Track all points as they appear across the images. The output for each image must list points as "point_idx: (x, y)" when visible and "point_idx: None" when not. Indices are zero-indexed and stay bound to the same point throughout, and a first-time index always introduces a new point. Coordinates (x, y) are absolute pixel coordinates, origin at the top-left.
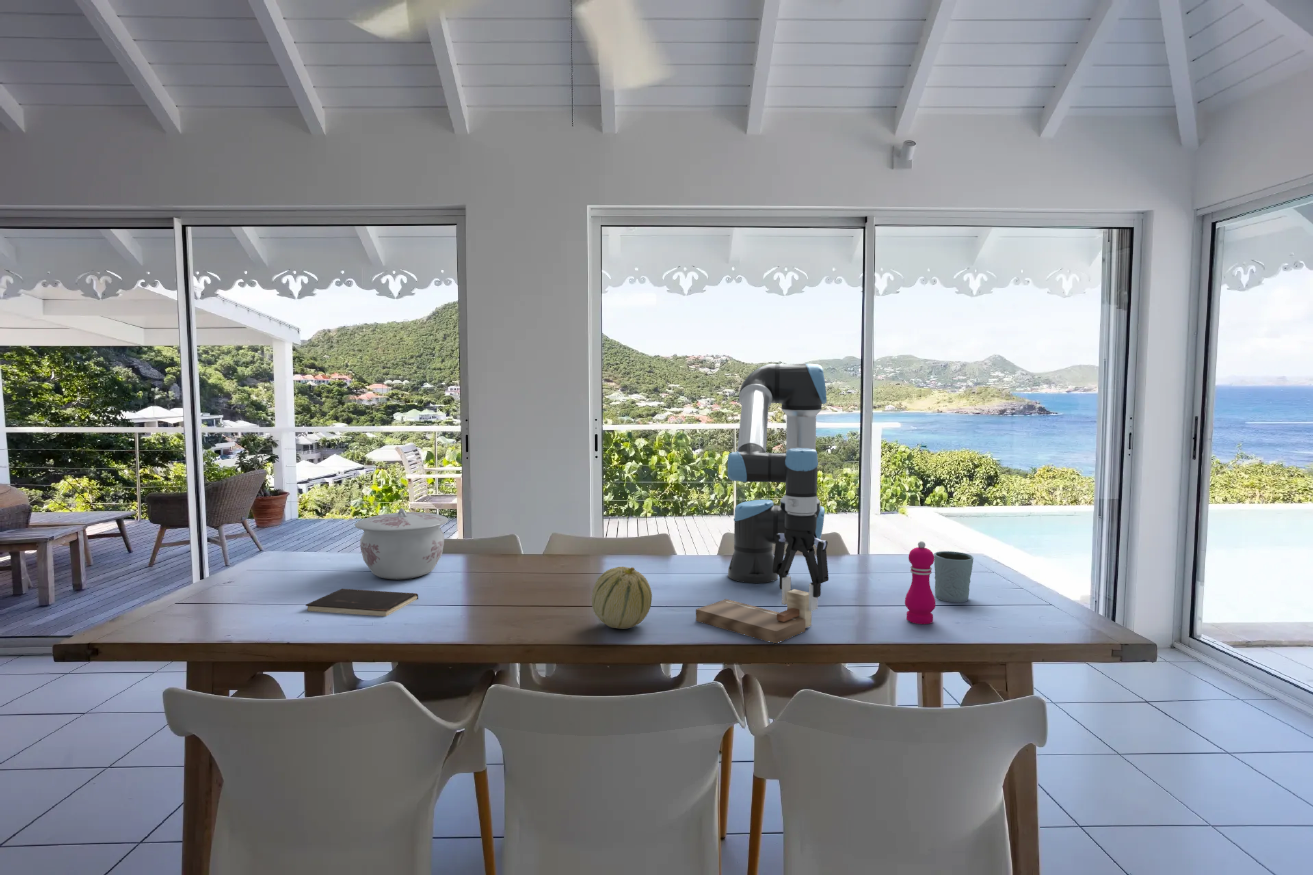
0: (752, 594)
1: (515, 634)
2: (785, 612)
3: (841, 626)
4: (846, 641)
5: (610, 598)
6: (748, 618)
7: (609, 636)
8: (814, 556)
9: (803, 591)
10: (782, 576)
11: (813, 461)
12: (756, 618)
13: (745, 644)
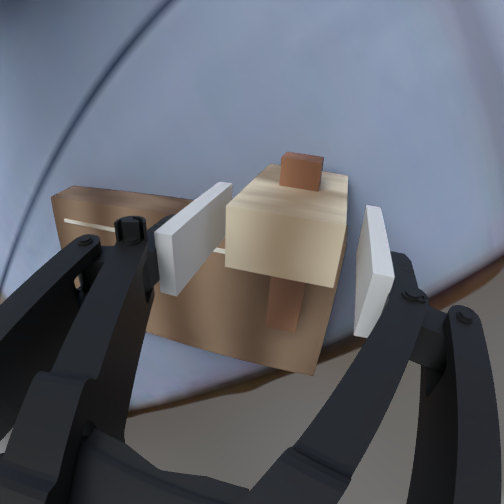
0: (43, 22)
1: None
2: (282, 302)
3: (434, 100)
4: (485, 244)
5: None
6: (194, 321)
7: None
8: (359, 460)
9: (290, 219)
10: (153, 288)
11: None
12: (209, 313)
13: (259, 373)
